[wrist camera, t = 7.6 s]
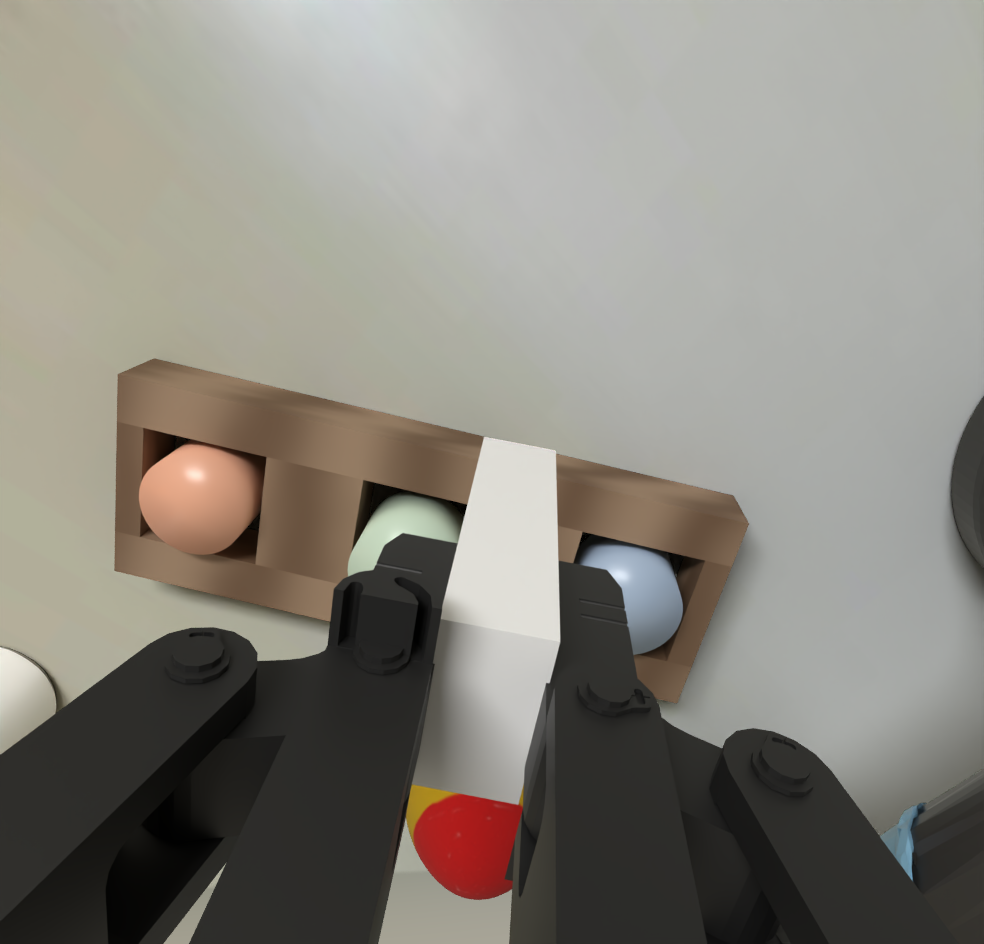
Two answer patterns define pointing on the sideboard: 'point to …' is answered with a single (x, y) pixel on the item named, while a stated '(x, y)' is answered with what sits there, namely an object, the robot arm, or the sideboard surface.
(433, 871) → the decorative egg
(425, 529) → the sage button
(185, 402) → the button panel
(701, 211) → the sideboard surface
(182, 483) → the terracotta button
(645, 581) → the slate blue button
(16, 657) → the can
